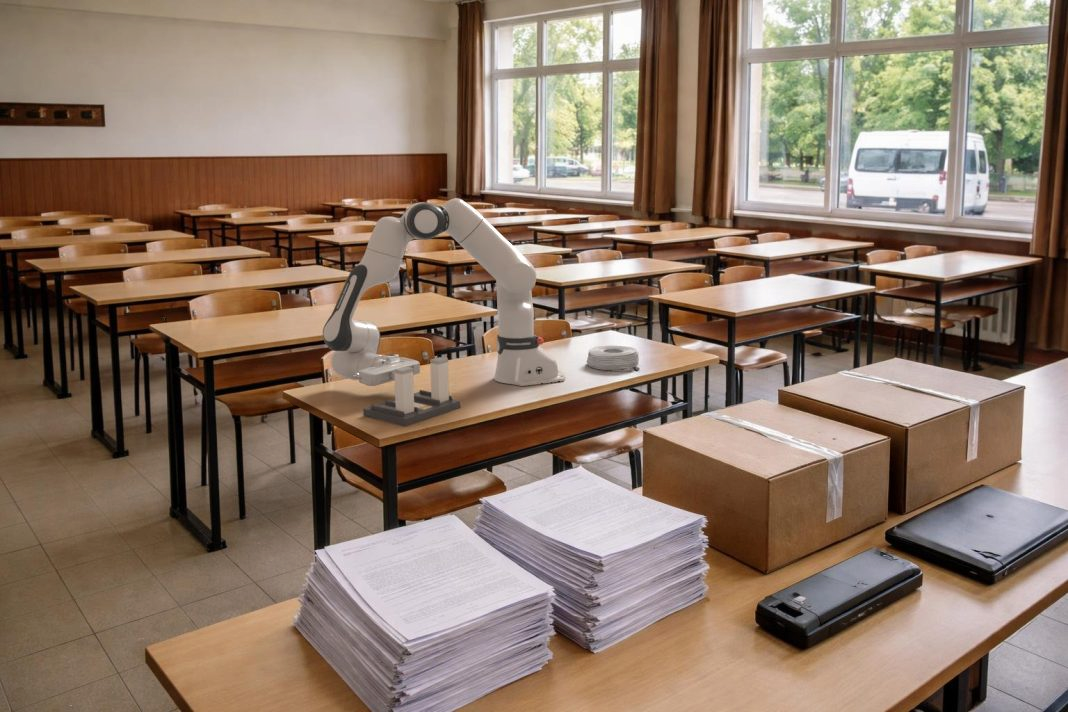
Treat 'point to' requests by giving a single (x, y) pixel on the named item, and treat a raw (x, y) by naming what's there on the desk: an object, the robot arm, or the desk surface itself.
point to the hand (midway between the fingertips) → (409, 376)
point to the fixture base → (422, 411)
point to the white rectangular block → (404, 389)
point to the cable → (613, 358)
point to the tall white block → (439, 379)
